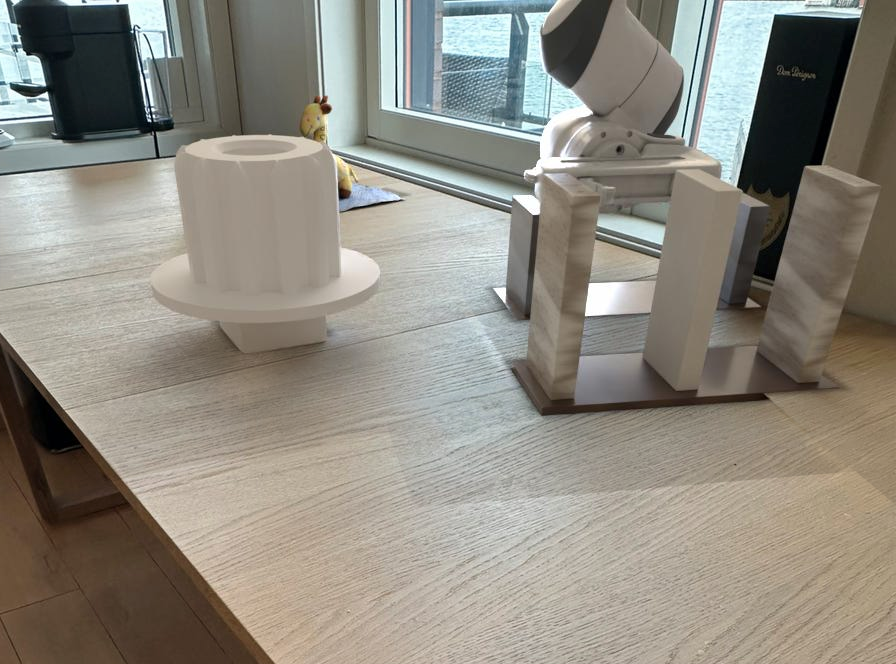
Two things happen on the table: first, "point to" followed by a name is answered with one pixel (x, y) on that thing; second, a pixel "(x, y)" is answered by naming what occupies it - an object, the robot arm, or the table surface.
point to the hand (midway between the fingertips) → (652, 196)
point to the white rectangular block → (690, 275)
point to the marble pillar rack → (725, 369)
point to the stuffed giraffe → (340, 160)
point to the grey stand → (637, 293)
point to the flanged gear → (262, 242)
